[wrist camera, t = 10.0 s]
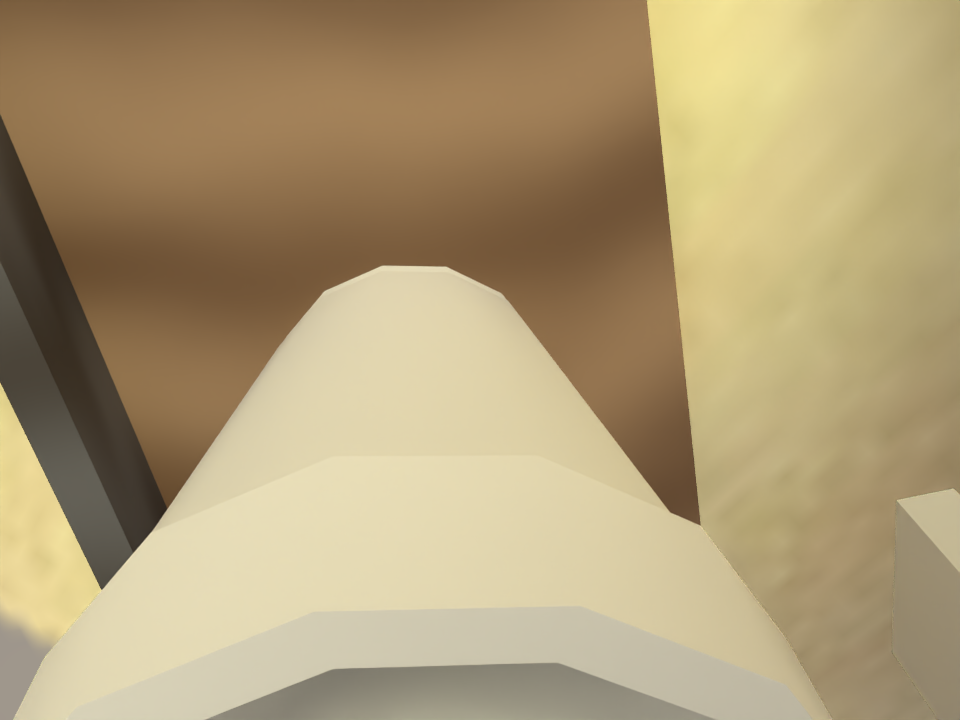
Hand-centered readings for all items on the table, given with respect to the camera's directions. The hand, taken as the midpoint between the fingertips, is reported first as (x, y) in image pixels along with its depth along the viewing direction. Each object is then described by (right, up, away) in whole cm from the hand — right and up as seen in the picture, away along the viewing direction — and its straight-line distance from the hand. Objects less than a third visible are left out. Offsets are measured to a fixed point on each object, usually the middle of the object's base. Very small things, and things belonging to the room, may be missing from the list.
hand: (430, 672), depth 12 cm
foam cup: (-1, +4, +9) cm, 10 cm away
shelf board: (-2, +8, +8) cm, 11 cm away
